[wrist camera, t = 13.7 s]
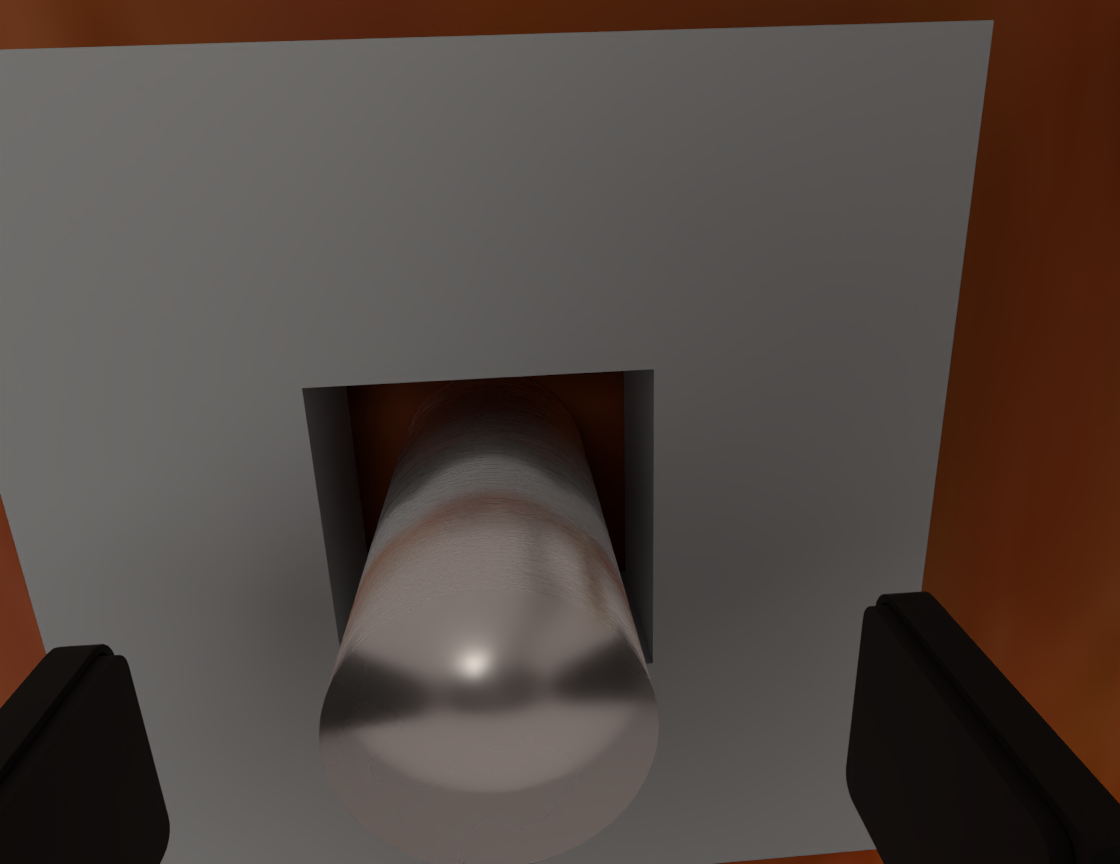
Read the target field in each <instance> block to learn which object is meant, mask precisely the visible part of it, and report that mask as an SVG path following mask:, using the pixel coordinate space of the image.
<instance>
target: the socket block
mask: <svg viewBox="0 0 1120 864" xmlns="http://www.w3.org/2000/svg"><path fill="white" fill-rule="evenodd" d="M993 24H994V20H982V21H948V22H915V23H881V24H848V25H814V26H781V27H747V28H713V29H680V30H646V31H613V32H579V33H546V34H512V35H479V36H445V37H412V38H378V39H345V40H311V41H278V42H244V43H211V44H177V45H144V46H110V47H77V48H43V49H10V50H0V494H1V497H2V501H3V504H4V508H5V511H6V515H7V518H8V522H9V525H10V529H11V532H12V536H13V539H14V543H15V546H16V550H17V553H18V557H19V560H20V564H21V567H22V571H23V574H24V578H25V581H26V585H27V588H28V592H29V595H30V599H31V602H32V606H33V609H34V613H35V616H36V620H37V623H38V627H39V630H40V634H41V637H42V641H43V644H44V648H45V651H46V654H47V653H48V652H50V651H51V650H52V649H53V648H57V647H63V646H79V645H94V644H105V645H108V646H109V647H110V648H111V649H112V651H113V653H114V655H122V656H124V657H125V658H126V660H127V662H128V665H129V668H130V672H131V675H132V679H133V683H134V687H135V691H136V695H137V698H138V702H139V706H140V710H141V714H142V717H143V721H144V725H145V729H146V733H147V736H148V740H149V744H150V748H151V752H152V755H153V759H154V763H155V767H156V771H157V774H158V778H159V782H160V786H161V790H162V793H163V797H164V801H165V805H166V809H167V813H168V816H169V822H170V835H169V842H168V846H167V849H166V852H165V855H164V857H163V859H162V861H161V863H160V864H437V863H433V862H430V861H426V860H422V859H419V858H417V857H414V856H412V855H409V854H407V853H404V852H402V851H400V850H398V849H396V848H394V847H392V846H390V845H388V844H387V843H385V842H383V841H382V840H380V839H379V838H377V837H376V836H375V835H373V834H372V833H370V832H369V831H368V830H367V829H365V828H364V827H363V826H362V825H361V824H360V823H359V822H358V821H357V820H356V819H355V818H353V816H352V815H351V814H350V813H349V812H348V810H347V809H346V808H345V807H344V805H343V804H342V803H341V801H340V800H339V798H338V797H337V795H336V793H335V792H334V790H333V788H332V786H331V784H330V782H329V779H328V777H327V775H326V772H325V769H324V765H323V761H322V757H321V753H320V742H319V726H320V715H321V711H322V707H323V703H324V699H325V695H326V692H327V689H328V685H329V682H330V679H331V676H332V672H333V669H334V666H335V663H336V659H337V656H338V653H339V649H340V646H341V643H342V640H343V636H344V633H345V630H346V626H347V623H348V620H349V617H350V613H351V610H352V607H353V603H354V600H355V597H356V594H357V590H358V587H359V584H360V580H361V577H362V574H363V571H364V567H365V564H366V561H367V557H368V554H367V546H366V538H365V530H364V522H363V514H362V506H361V498H360V490H359V482H358V475H357V467H356V459H355V451H354V443H353V435H352V427H351V419H350V411H349V403H348V396H347V388H346V386H352V385H370V384H389V383H407V382H426V381H444V380H463V379H481V378H500V377H519V376H537V375H556V374H574V373H593V372H611V371H623V379H624V483H625V571H624V572H620V575H621V579H622V582H623V586H624V589H625V593H626V596H627V600H628V603H629V607H630V610H631V614H632V617H633V621H634V624H635V628H636V631H637V634H638V638H639V641H640V645H641V648H642V652H643V655H644V659H645V662H646V666H647V669H648V673H649V676H650V680H651V683H652V687H653V690H654V694H655V699H656V703H657V707H658V719H659V732H658V743H657V748H656V752H655V756H654V760H653V763H652V765H651V768H650V770H649V773H648V775H647V778H646V780H645V781H644V783H643V785H642V786H641V788H640V790H639V792H638V793H637V795H636V796H635V797H634V799H633V800H632V801H631V803H630V804H629V805H628V806H627V808H626V809H625V810H624V811H623V812H622V813H621V814H620V815H619V816H618V817H617V818H616V819H615V820H614V821H613V822H612V823H611V824H609V825H608V826H607V827H606V828H604V829H603V830H602V831H601V832H599V833H598V834H597V835H595V836H593V837H592V838H590V839H589V840H587V841H585V842H584V843H582V844H581V845H579V846H577V847H574V848H572V849H570V850H568V851H566V852H564V853H562V854H559V855H556V856H554V857H551V858H548V859H545V860H542V861H538V862H534V863H530V864H714V863H725V862H736V861H747V860H759V859H770V858H781V857H792V856H804V855H815V854H826V853H837V852H848V851H860V850H871V849H876V847H875V845H874V843H873V841H872V839H871V837H870V835H869V833H868V831H867V829H866V827H865V825H864V823H863V821H862V820H861V818H860V816H859V814H858V812H857V810H856V808H855V806H854V804H853V802H852V799H851V797H850V794H849V791H848V787H847V781H846V763H847V754H848V745H849V736H850V728H851V719H852V710H853V701H854V692H855V683H856V675H857V666H858V657H859V648H860V639H861V631H862V622H863V615H864V611H865V609H866V608H867V607H869V606H876V602H877V600H878V598H879V596H881V595H882V594H892V593H907V592H921V590H922V582H923V574H924V566H925V558H926V550H927V543H928V535H929V527H930V519H931V511H932V503H933V495H934V488H935V480H936V472H937V464H938V456H939V448H940V440H941V433H942V425H943V417H944V409H945V401H946V393H947V385H948V378H949V370H950V362H951V354H952V346H953V338H954V330H955V322H956V315H957V307H958V299H959V291H960V283H961V275H962V267H963V260H964V252H965V244H966V236H967V228H968V220H969V212H970V205H971V197H972V189H973V181H974V173H975V165H976V157H977V150H978V142H979V134H980V126H981V118H982V110H983V102H984V95H985V87H986V79H987V71H988V63H989V55H990V47H991V39H992V32H993Z"/></svg>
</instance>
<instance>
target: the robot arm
mask: <svg viewBox="0 0 1120 864" xmlns="http://www.w3.org/2000/svg"><path fill="white" fill-rule="evenodd" d="M846 781H847V787H848V791H849V794H850V797H851V799H852V802H853V804H854V806H855V808H856V810H857V812H858V814H859V816H860V818H861V820H862V821H863V823H864V825H865V827H866V829H867V831H868V833H869V835H870V837H871V839H872V841H873V843H874V845H875V847H876V849H877V851H878V853H879V855H880V857H881V859H882V861H883V863H884V864H1120V804H1119V803H1118V802H1117V801H1116V799H1115V798H1114V797H1113V796H1112V795H1111V794H1110V793H1109V792H1108V791H1107V789H1106V788H1105V787H1104V786H1103V785H1102V784H1101V783H1100V782H1099V781H1098V779H1097V778H1096V777H1095V776H1094V775H1093V774H1092V773H1091V772H1090V770H1089V769H1088V768H1087V767H1086V766H1085V765H1084V764H1083V763H1082V762H1081V760H1080V759H1079V758H1078V757H1077V756H1076V755H1075V754H1074V753H1073V752H1072V750H1071V749H1070V748H1069V747H1068V746H1067V745H1066V744H1065V743H1064V741H1063V740H1062V739H1061V738H1060V737H1059V736H1058V735H1057V734H1056V733H1055V731H1054V730H1053V729H1052V728H1051V727H1050V726H1049V725H1048V724H1047V723H1046V721H1045V720H1044V719H1043V718H1042V717H1041V716H1040V715H1039V714H1038V712H1037V711H1036V710H1035V709H1034V708H1033V707H1032V706H1031V705H1030V704H1029V702H1027V700H1026V699H1025V698H1024V697H1023V696H1022V695H1021V694H1020V693H1019V692H1018V690H1017V689H1016V688H1015V687H1014V686H1013V685H1012V684H1011V683H1010V681H1009V680H1008V679H1007V678H1006V677H1005V676H1004V675H1003V674H1002V673H1001V671H1000V670H999V669H998V668H997V667H996V666H995V665H994V664H993V663H992V661H991V660H990V659H989V658H988V657H987V656H986V655H985V654H984V652H983V651H982V650H981V649H980V648H979V647H978V646H977V645H976V644H975V642H974V641H973V640H972V639H971V638H970V637H969V636H968V635H967V634H966V632H965V631H964V630H963V629H962V628H961V627H960V626H959V625H958V623H957V622H956V621H955V620H954V619H953V618H952V617H951V616H950V615H949V613H948V612H947V611H946V610H945V609H944V608H943V607H942V606H941V604H940V603H939V602H938V601H937V600H936V599H935V598H934V597H933V596H932V595H931V594H930V593H928V592H907V593H892V594H882V595H881V596H879V598H878V600H877V602H876V606H869V607H867V608H866V609H865V611H864V615H863V622H862V631H861V639H860V648H859V657H858V666H857V675H856V683H855V692H854V701H853V710H852V719H851V728H850V736H849V745H848V754H847V763H846ZM169 835H170V822H169V816H168V813H167V809H166V805H165V801H164V797H163V793H162V790H161V786H160V782H159V778H158V774H157V771H156V767H155V763H154V759H153V755H152V752H151V748H150V744H149V740H148V736H147V733H146V729H145V725H144V721H143V717H142V714H141V710H140V706H139V702H138V698H137V695H136V691H135V687H134V683H133V679H132V675H131V672H130V668H129V665H128V662H127V660H126V658H125V657H124V656H122V655H114V653H113V651H112V649H111V648H110V647H109V646H108V645H105V644H94V645H79V646H63V647H57V648H53V649H52V650H51V651H50V652H48V653H47V654H46V656H45V657H44V658H43V659H42V660H41V661H40V663H39V664H38V665H37V666H36V667H35V669H34V670H33V671H32V672H31V673H30V674H29V676H28V677H27V678H26V679H25V680H24V681H23V683H22V684H21V685H20V686H19V687H18V688H17V690H16V691H15V692H14V693H13V694H12V695H11V697H10V698H9V699H8V700H7V701H6V703H5V704H4V705H3V706H2V707H1V708H0V864H160V863H161V861H162V859H163V857H164V855H165V852H166V849H167V846H168V842H169Z"/></svg>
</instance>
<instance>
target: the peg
mask: <svg viewBox="0 0 1120 864" xmlns="http://www.w3.org/2000/svg"><path fill="white" fill-rule="evenodd" d="M658 732H659V719H658V707H657V703H656V699H655V694H654V690H653V687H652V683H651V680H650V676H649V673H648V669H647V666H646V662H645V659H644V655H643V652H642V648H641V645H640V641H639V638H638V634H637V631H636V628H635V624H634V621H633V617H632V614H631V610H630V607H629V603H628V600H627V596H626V593H625V589H624V586H623V582H622V579H621V575H620V572H619V568H618V565H617V561H616V558H615V555H614V551H613V548H612V544H611V541H610V537H609V534H608V530H607V527H606V523H605V520H604V516H603V513H602V509H601V506H600V502H599V499H598V495H597V492H596V488H595V485H594V482H593V478H592V475H591V471H590V468H589V464H588V461H587V457H586V454H585V450H584V447H583V443H582V440H581V436H580V433H579V430H578V428H577V425H576V423H575V421H574V419H573V417H572V415H571V414H570V412H569V411H568V409H567V408H566V407H565V405H564V404H563V403H562V402H561V401H560V400H559V399H558V398H557V397H556V396H555V395H554V394H553V393H551V392H550V391H549V390H547V389H546V388H545V387H543V386H541V385H540V384H538V383H536V382H534V381H532V380H529V379H527V378H524V377H521V376H519V377H500V378H481V379H463V380H453V381H451V382H449V383H447V384H446V385H444V386H442V387H440V388H439V389H438V390H436V391H435V392H434V393H432V394H431V395H430V396H429V397H428V398H427V399H426V400H425V401H424V402H423V403H422V404H421V405H420V407H419V408H418V409H417V411H416V412H415V414H414V415H413V417H412V419H411V421H410V423H409V425H408V427H407V430H406V433H405V436H404V439H403V442H402V446H401V449H400V452H399V456H398V459H397V462H396V465H395V469H394V472H393V475H392V479H391V482H390V485H389V488H388V492H387V495H386V498H385V502H384V505H383V508H382V511H381V515H380V518H379V521H378V525H377V528H376V531H375V534H374V538H373V541H372V544H371V548H370V551H369V554H368V557H367V561H366V564H365V567H364V571H363V574H362V577H361V580H360V584H359V587H358V590H357V594H356V597H355V600H354V603H353V607H352V610H351V613H350V617H349V620H348V623H347V626H346V630H345V633H344V636H343V640H342V643H341V646H340V649H339V653H338V656H337V659H336V663H335V666H334V669H333V672H332V676H331V679H330V682H329V685H328V689H327V692H326V695H325V699H324V703H323V707H322V711H321V715H320V726H319V742H320V753H321V757H322V761H323V765H324V769H325V772H326V775H327V777H328V779H329V782H330V784H331V786H332V788H333V790H334V792H335V793H336V795H337V797H338V798H339V800H340V801H341V803H342V804H343V805H344V807H345V808H346V809H347V810H348V812H349V813H350V814H351V815H352V816H353V818H355V819H356V820H357V821H358V822H359V823H360V824H361V825H362V826H363V827H364V828H365V829H367V830H368V831H369V832H370V833H372V834H373V835H375V836H376V837H377V838H379V839H380V840H382V841H383V842H385V843H387V844H388V845H390V846H392V847H394V848H396V849H398V850H400V851H402V852H404V853H407V854H409V855H412V856H414V857H417V858H419V859H422V860H426V861H430V862H433V863H437V864H530V863H534V862H538V861H542V860H545V859H548V858H551V857H554V856H556V855H559V854H562V853H564V852H566V851H568V850H570V849H572V848H574V847H577V846H579V845H581V844H582V843H584V842H585V841H587V840H589V839H590V838H592V837H593V836H595V835H597V834H598V833H599V832H601V831H602V830H603V829H604V828H606V827H607V826H608V825H609V824H611V823H612V822H613V821H614V820H615V819H616V818H617V817H618V816H619V815H620V814H621V813H622V812H623V811H624V810H625V809H626V808H627V806H628V805H629V804H630V803H631V801H632V800H633V799H634V797H635V796H636V795H637V793H638V792H639V790H640V788H641V786H642V785H643V783H644V781H645V780H646V778H647V775H648V773H649V770H650V768H651V765H652V763H653V760H654V756H655V752H656V748H657V743H658Z"/></svg>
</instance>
